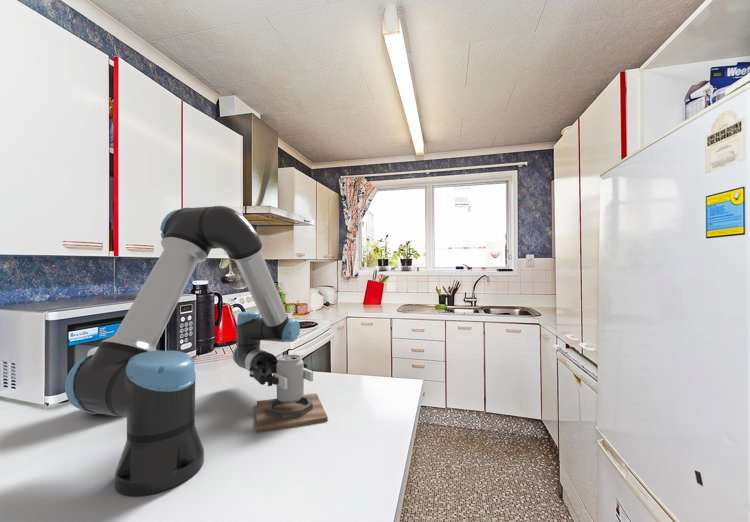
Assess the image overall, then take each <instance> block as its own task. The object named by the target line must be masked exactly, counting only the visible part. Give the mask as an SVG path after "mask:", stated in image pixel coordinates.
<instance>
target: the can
mask: <svg viewBox="0 0 750 522" xmlns="http://www.w3.org/2000/svg"><path fill="white" fill-rule="evenodd" d="M278 360H279V361H278V362H277V364H276V366H277V373H276V374H278V375H281V376H283V377H285V378H287V389H283V388H281V387H279V386H277V385H276V399H278V400H280V401H281V402H283V403H293V402H297V401H299V400H300V399H301V398H302V397H303V395H305V394H304V393H305V385H304V383H305V381H304V380H305V379H304V365H303V363H304V361H303V359H302V356H301V355H299V354H284V355H282V356H279V358H278Z"/></svg>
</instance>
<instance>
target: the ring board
mask: <svg viewBox="0 0 750 522" xmlns="http://www.w3.org/2000/svg"><path fill="white" fill-rule="evenodd" d="M255 419H256V423H255V424H256V425H255V427H256V429H255V431H256V432H255V433H262V432H269V431H274V430H275V431H276V430H281V429H286V428H292V427H298V426H305V425H310V424H312V425H313V424H316V423H321V422H322V423H323V422H327V421H328V419H329V417H328V415H327V412H326V411H325V408H324V406H323V404H322V402H321V400H320V398H319V396H318V393H316V392H315V393H307V394H304V395H303V397H302V398H301V399H300V400H299V401H297V402H293V403H283V402H281V401H280V400H278V399H277V398H271V399H270V398H269V399H264V400H263V399H262V400H256V418H255Z"/></svg>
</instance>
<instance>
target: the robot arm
mask: <svg viewBox="0 0 750 522" xmlns="http://www.w3.org/2000/svg"><path fill="white" fill-rule="evenodd" d="M160 224H161V225H160V231H161V233H160V236H161V241H160V244H161V247H162V249H163V251H162V252H161V253H160V256H159V258H158V259H157V261H156V263H155V264H154V266H153V268H152V270H151V271H150V273H149V274H148V276H147V278H146V280H145V282H144V283H143V285H142V287H141V288H140V290H139V292H138V294H137V295H136V297H135V299H134V300H133V302H132V304H131V305H130V308H129V309H128V310H127V313H126V315H125V316H124V318H123V320H122V321H121V323H120V325H119V327H118V328H117V330H116V332H115V333H114V335H112V336H110V337H108V338H105V339H103V340H102V341H100V344H99V345H98V346H97V347H98V348H97V350H96V352H95V353H94V354H92V355H89V356H86V357H84V358H81V359H80V360H78V361H77V362H76V363H75V364H74V365H73V366H72V367H71V369H70V371H69V372H68V374H67V376H66V379H65V384H64V390H65V395H66V398H67V401H69V403H70V404H71V405H72V406H73V407H75V408H77V409H79V410H82V411H85V412H86V413H87V412H89V413H95V414H99V413H100V414H107V415H106V416H114V417H122V418H126V441H125V445H124V448H123V450H122V453H121V456H120V459H119V461H118V464H117V467H116V469H115V473H114V487H115V490H116V491H117V492H118V493H120V494H121V495H125V496H129V497H132V496H133V497H135V496H136V497H140V496H141V497H142V496H147V495H151V494H152V495H153V494H157V493H161V492H163V491H166V490H169V489H172V488H175V487H177V486H179V485H180V484H182V483H184V482H186V481H188V480H189V479H190V478H193V477H194V475H196V473H198V472H199V471H200V470H201V468H202V466H204V462H205V449H204V446H203V443H202V441H201V439H200V435H199V433H198V431H197V428H196V426H195V425H196V424H195V423H196V421H195V418H196V417H195V415H196V412H195V409H196V370H195V362H194V361H195V360H194V358H193V357H192V356H190V354H189V353H186V352H183V351H179V350H178V351H177V350H162V349H161V350H160V349H158V350H157V345H158V343H159V341H160V338H161V337H162V335H163V333H164V331H165V329H166V327H167V325H168V323H169V321H170V319H171V317H172V315H173V314H174V311H175V309H176V307H177V305H178V303H179V301H180V298H181V297H182V295H183V294H184V291H185V289H186V287H187V286H188V283H189V281H190V279H191V277H192V275H193V273H194V271H195V269H196V267H197V265H198V264H200V263H204V262H205V261H206V260H207V258H208V256H209V254H210V252H211V251H212V249H214V250H215V249H222V250H223V251H224V252H226V254H227V256H228V258H229V259H230V260H231V261H234V262H235V264H236V266H237V268H238V270H239V272H240V275H241V276H242V278H243V281H244V283H245V285H246V287H247V289H248V291H249V294H250V295H251V298H252V300H253V301H254V304H255V305H256V308H257V310H256V311H255V310H250V311H249V310H247V311H242V312H239V313H238V314H237V318H236V319H237V320H236V323H237V324H236V341H237V343H236V348H235V349H234V351H233V353H232V360H233V362H234V363H235V364H236V365H237V366H238V367H239V368H242V369H245V370H247V371H249V377H250V378H253V379H254V380H256V381H257V382H258V383H259V384H260V385H265V384H266V383H267V386H268V387H272V386H273V385H276V387H277V386H279V387H281V388H283V389H287V378H285V377H283V376H281V375H278V374H277V366H276V364H277V362H278V361H279V359H278V358H277V356H275V354H273V353H270V352H268V351H266V350H262V349H261V341H266V342H277V343H293V342H295V341H296V340H297V339H298V337H299V336H300V335H299V334H300V332H301V331H300V330H301V327H300V322H299V321H298V320H297V319H296V318H295V319H294V318H289V316H288V314H287V312H286V308H285V307H284V306H285V305H284V303H283V301H282V299H281V297H280V294H279V292H278V289H277V287H276V284H275V281H274V280H273V278H272V275H271V273H270V270H269V267H268V265H267V262H266V260H265V257H264V256H263V255H264V254H263V252H262V249H263V247H264V246H263V243H262V241H261V238H260V236H259V234H258V233H257V231H256V230H255V228H254V226H253V225H252V224H251V223H250V222H249V221H248V220H247V219H246V217H245V216H244V215H242V214H241V213H240V212H238V211H237V210H235V209H233V208H231V207H228V206H226V205H225V206H224V205H215V206H202V207H183V208H179V209H178V208H177V209H175V210H172V211H170V212H169V213H167V214H166V215H165V217H164V218H163V219H162V221H161V223H160ZM303 365H304V380H307V381H309V382H314V371H312V369H308V364H307V363H305V362H303ZM89 413H88V414H89Z"/></svg>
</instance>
